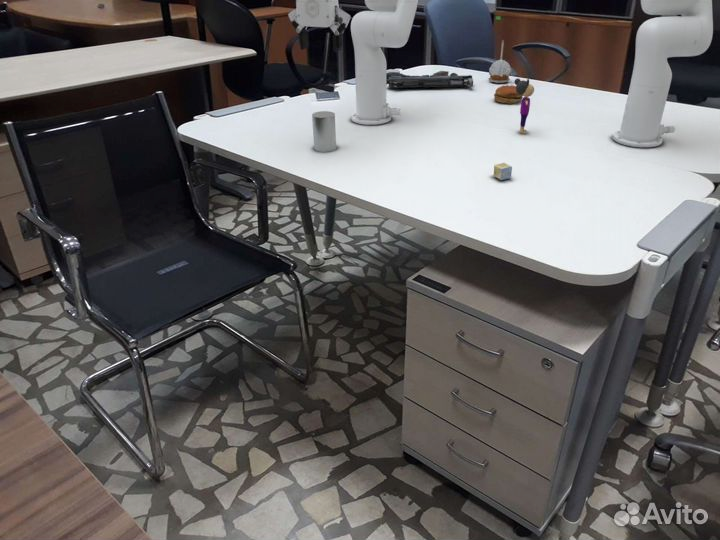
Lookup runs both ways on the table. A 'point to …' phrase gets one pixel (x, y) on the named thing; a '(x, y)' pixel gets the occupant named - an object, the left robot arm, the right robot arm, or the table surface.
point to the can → (324, 131)
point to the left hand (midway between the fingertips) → (321, 49)
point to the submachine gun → (428, 80)
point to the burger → (507, 94)
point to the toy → (524, 100)
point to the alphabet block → (502, 171)
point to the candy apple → (500, 70)
